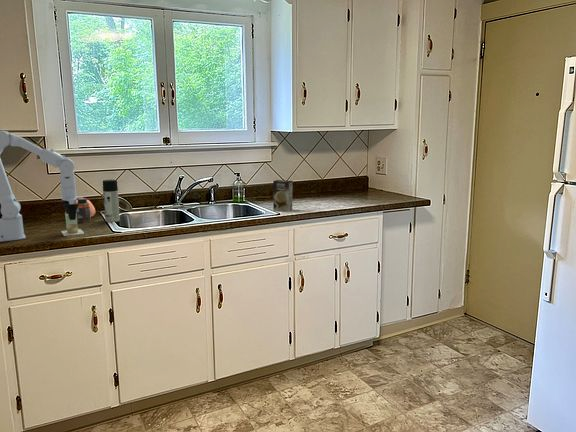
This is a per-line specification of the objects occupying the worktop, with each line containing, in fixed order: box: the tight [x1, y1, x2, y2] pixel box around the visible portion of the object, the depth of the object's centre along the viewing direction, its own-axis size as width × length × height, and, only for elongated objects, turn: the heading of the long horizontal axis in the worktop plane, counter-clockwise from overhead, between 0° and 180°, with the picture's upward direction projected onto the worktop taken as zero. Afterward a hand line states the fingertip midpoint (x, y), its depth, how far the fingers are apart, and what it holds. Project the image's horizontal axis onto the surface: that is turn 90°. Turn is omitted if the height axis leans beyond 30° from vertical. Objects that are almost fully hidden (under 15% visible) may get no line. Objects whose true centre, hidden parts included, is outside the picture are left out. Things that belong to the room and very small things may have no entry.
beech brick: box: [65, 223, 79, 234], centre depth 207 cm, size 4×4×4 cm
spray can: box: [102, 179, 121, 223], centre depth 230 cm, size 7×7×20 cm
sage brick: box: [64, 213, 78, 225], centre depth 206 cm, size 4×4×4 cm
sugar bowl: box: [64, 197, 96, 218], centre depth 239 cm, size 12×14×10 cm
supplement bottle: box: [77, 197, 92, 224], centre depth 230 cm, size 6×6×11 cm
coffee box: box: [272, 179, 294, 212], centre depth 258 cm, size 9×6×16 cm
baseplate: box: [61, 228, 85, 237], centre depth 208 cm, size 8×10×1 cm
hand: (71, 218), depth 206 cm, fingers open, 7 cm apart
